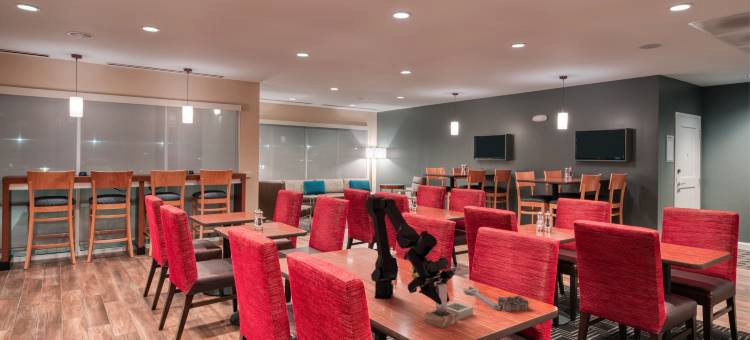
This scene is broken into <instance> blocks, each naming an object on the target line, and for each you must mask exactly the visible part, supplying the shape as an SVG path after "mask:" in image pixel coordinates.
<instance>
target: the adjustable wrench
mask: <svg viewBox="0 0 750 340" xmlns="http://www.w3.org/2000/svg"><path fill="white" fill-rule="evenodd" d="M462 291H463V293H464V294H465V295H468V296H473V297H475V298H477V300H479V301H480V302H483V303H484V304H485V305H487V306H488V307H489V308H491V309H492V310H495V311H501V309H502V308H501V306H499V305H498V303H496V302H495V301H493V300H491V299H489V298H488V297H486V296H484V295H483V294H482V293H480V292H479V288H477V287H475V286H468V288H466V287H463V289H462Z"/></svg>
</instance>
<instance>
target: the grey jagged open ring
mask: <svg viewBox="0 0 750 340" xmlns="http://www.w3.org/2000/svg"><path fill="white" fill-rule="evenodd" d="M495 300H496V301H497V304H498V305H499V306H501V309H502V311H504V312H512V311H519V312H520V310H523V311H528V309H529V305H530V304H531V302H529V301H528V300H527V299H526V298H524V297H522V295H520V294H519V295H515V296H505V297H504V296H498V297H497V298H496V299H495Z"/></svg>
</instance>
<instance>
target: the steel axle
mask: <svg viewBox="0 0 750 340" xmlns="http://www.w3.org/2000/svg"><path fill="white" fill-rule="evenodd" d="M436 292H437V294H438V296H439V297H440V299H441V302H442V304H441V305H439V304H438V303H436V302H435V309H436V315H438V316H441V317H444V316H446V315H447V304H448V302H447V292H448V284H447V283H437V284H436Z"/></svg>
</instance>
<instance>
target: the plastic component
mask: <svg viewBox="0 0 750 340" xmlns="http://www.w3.org/2000/svg"><path fill="white" fill-rule="evenodd" d="M409 270H410V271H409V272H410V273H411V275H412V276H413V277H414V278H416V277H419V276H418V274H417V273H415V274H414V272H413V271H414V270H415V269H414V267H413V266H410V268H409ZM440 273H441V272H440ZM440 273H439V274H440ZM439 274H437V276H438V275H439ZM433 280H434V279H433Z"/></svg>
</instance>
